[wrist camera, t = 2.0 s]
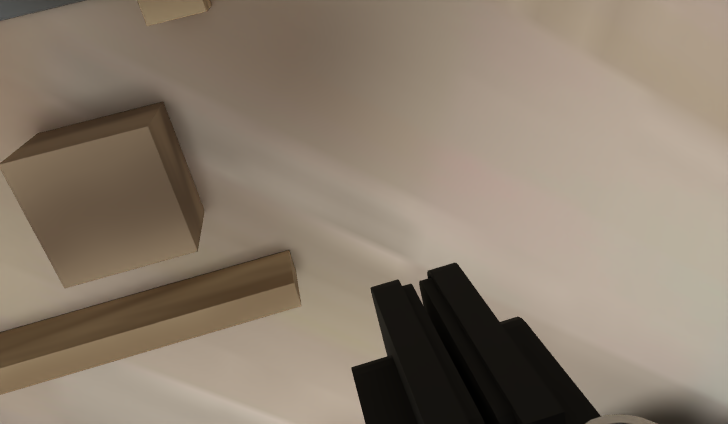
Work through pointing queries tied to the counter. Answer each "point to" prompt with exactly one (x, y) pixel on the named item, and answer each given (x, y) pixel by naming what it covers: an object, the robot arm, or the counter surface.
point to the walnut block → (107, 194)
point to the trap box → (149, 308)
